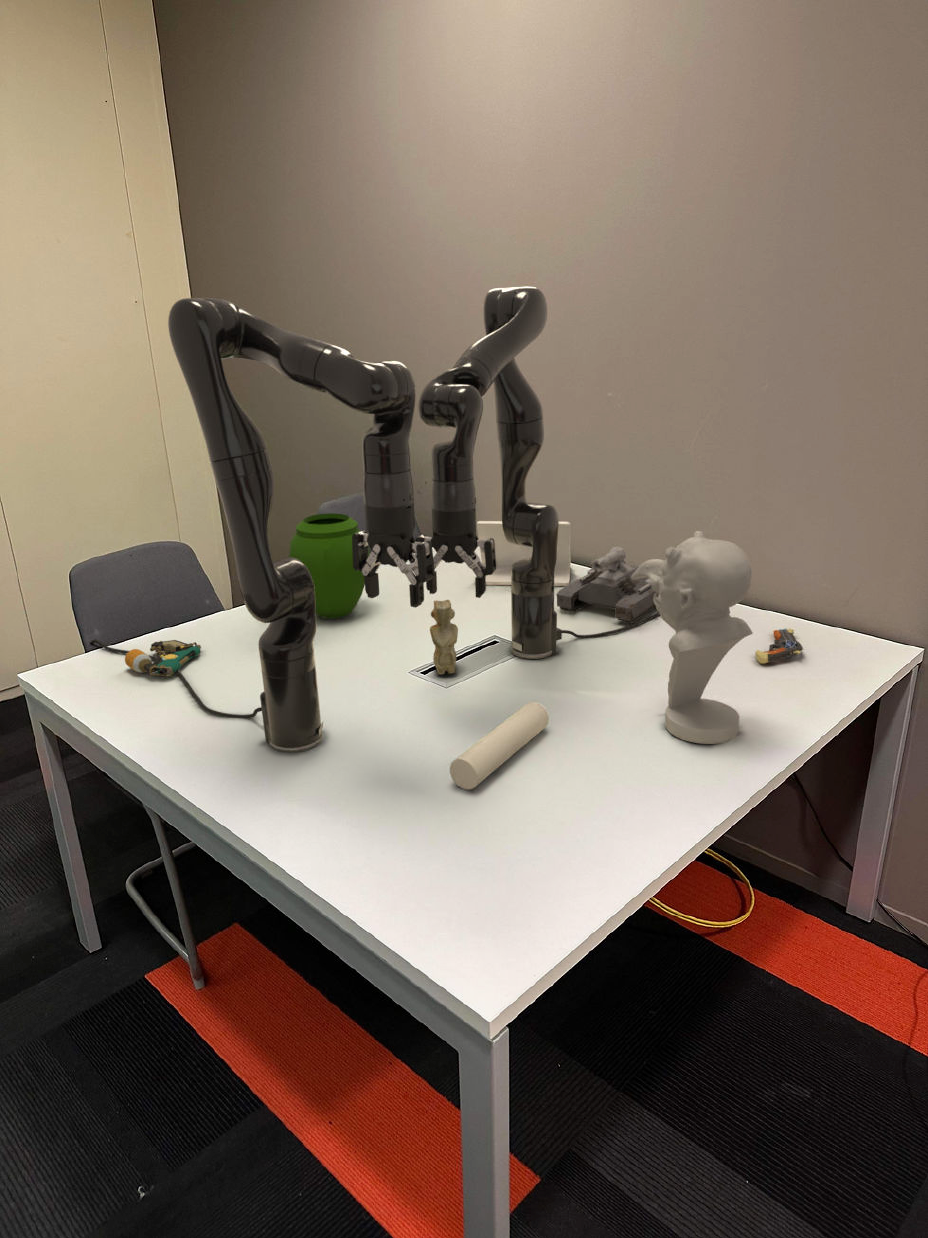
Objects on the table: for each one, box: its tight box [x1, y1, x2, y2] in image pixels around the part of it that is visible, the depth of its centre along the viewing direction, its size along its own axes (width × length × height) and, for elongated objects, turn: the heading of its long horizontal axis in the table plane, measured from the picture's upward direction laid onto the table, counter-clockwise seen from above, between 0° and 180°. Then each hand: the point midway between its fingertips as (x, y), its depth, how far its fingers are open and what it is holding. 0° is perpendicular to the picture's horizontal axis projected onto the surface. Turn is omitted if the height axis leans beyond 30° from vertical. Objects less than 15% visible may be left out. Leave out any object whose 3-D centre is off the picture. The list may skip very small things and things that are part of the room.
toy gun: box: [754, 628, 805, 664], centre depth 185 cm, size 3×19×10 cm
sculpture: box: [429, 599, 459, 675], centre depth 177 cm, size 6×7×15 cm
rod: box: [449, 701, 550, 790], centre depth 144 cm, size 24×5×5 cm, turn 146°
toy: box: [556, 546, 656, 624], centre depth 212 cm, size 25×20×15 cm
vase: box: [288, 512, 370, 620], centre depth 209 cm, size 20×20×24 cm
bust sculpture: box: [631, 530, 754, 745], centre depth 151 cm, size 16×24×35 cm, turn 28°
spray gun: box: [124, 639, 202, 677], centre depth 186 cm, size 4×17×15 cm
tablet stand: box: [476, 520, 572, 587], centre depth 236 cm, size 18×25×17 cm
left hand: (394, 601), depth 134 cm, fingers open, 8 cm apart
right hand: (456, 594), depth 151 cm, fingers open, 8 cm apart
